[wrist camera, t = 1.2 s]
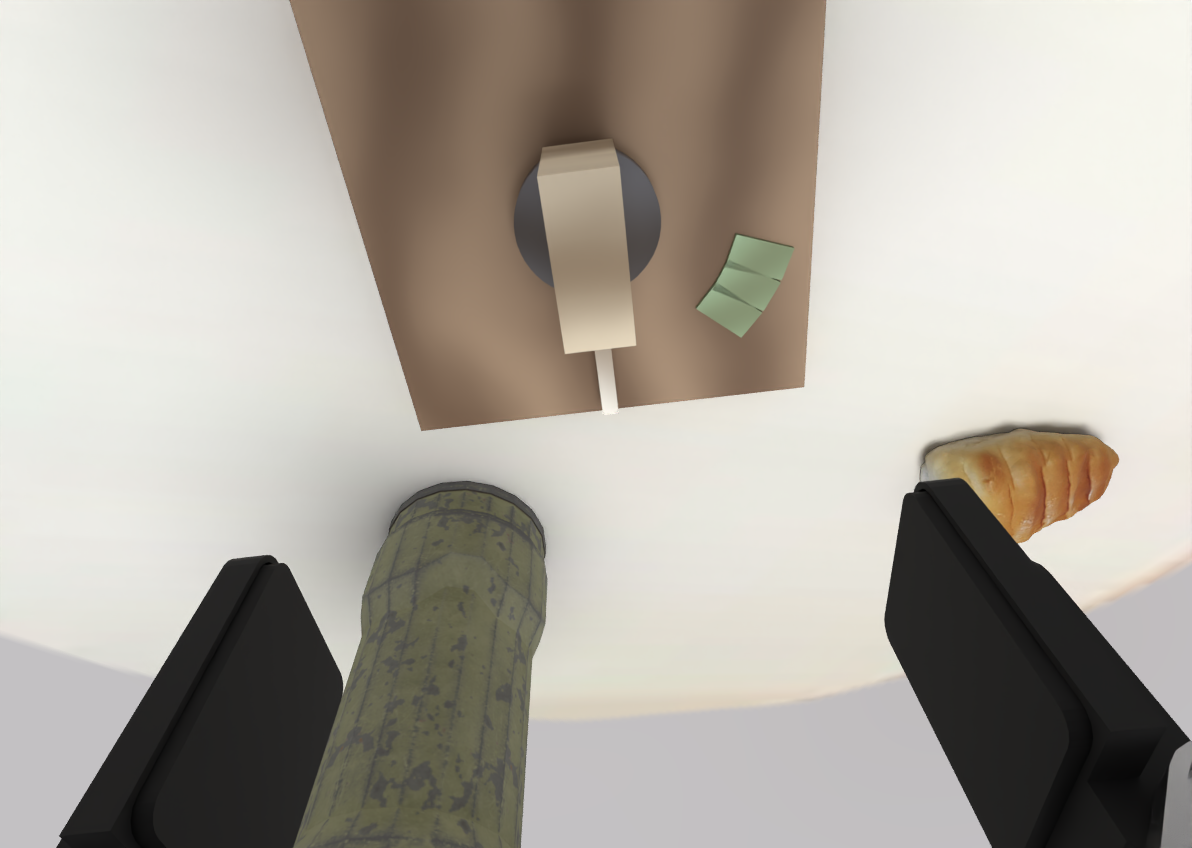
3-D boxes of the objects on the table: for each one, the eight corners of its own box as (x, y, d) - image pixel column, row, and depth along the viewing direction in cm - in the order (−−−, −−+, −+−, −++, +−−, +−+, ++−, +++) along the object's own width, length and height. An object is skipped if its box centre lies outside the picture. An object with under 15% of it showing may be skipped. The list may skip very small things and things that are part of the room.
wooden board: (817, -95, 23) (833, -101, 22) (795, 371, 33) (805, 389, 31) (298, -22, 24) (280, -23, 22) (427, 414, 33) (420, 433, 32)
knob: (501, 147, 25) (486, 182, 20) (652, 127, 25) (671, 159, 20) (549, 410, 31) (545, 483, 27) (670, 396, 31) (687, 467, 26)
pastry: (1101, 396, 34) (1156, 439, 31) (1088, 495, 38) (1136, 543, 35) (911, 443, 35) (945, 489, 32) (916, 535, 39) (947, 585, 36)
